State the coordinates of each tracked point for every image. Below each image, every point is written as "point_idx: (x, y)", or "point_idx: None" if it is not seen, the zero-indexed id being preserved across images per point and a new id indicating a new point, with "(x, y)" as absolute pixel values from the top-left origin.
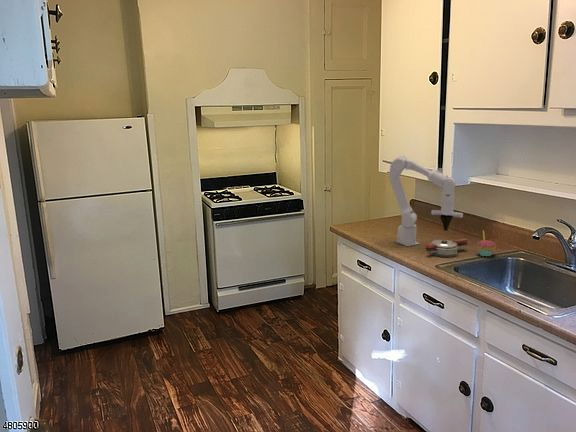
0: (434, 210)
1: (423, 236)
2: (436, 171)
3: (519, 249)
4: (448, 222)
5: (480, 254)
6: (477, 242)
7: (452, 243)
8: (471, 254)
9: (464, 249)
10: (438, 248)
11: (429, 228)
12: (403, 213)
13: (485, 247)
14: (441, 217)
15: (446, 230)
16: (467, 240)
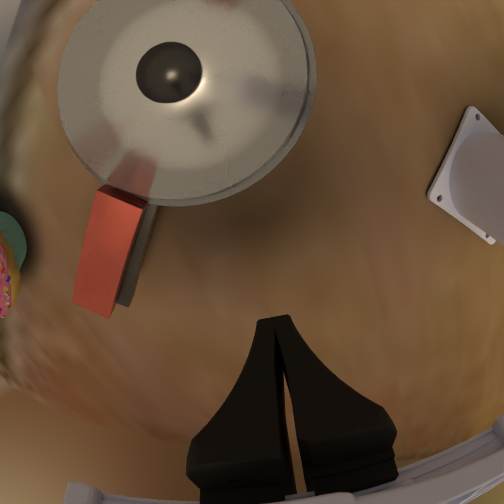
0: (497, 480)
1: (429, 342)
2: None
3: (15, 382)
4: (234, 396)
5: (7, 216)
6: (3, 275)
7: (100, 118)
8: (47, 199)
9: None
10: None
11: (413, 425)
12: None
13: None
14: (370, 426)
15: (260, 321)
16: (74, 293)
